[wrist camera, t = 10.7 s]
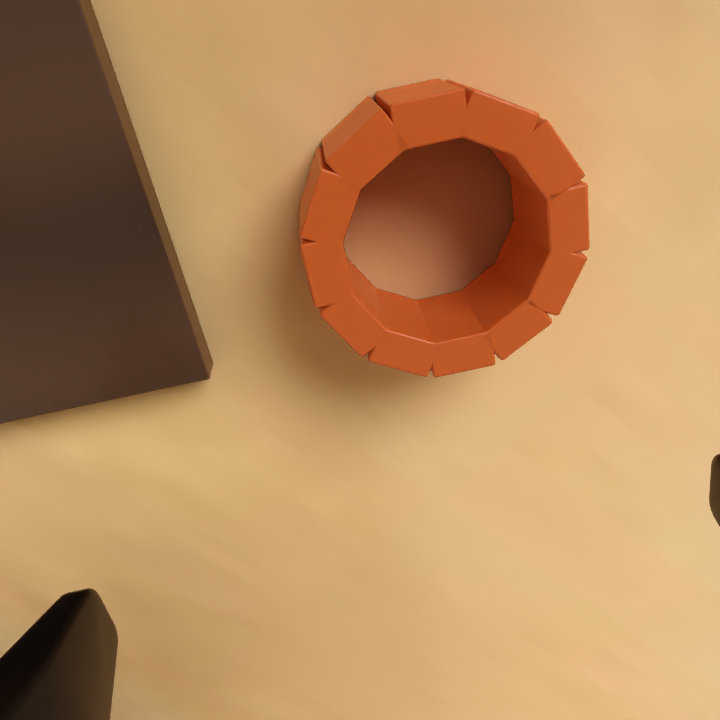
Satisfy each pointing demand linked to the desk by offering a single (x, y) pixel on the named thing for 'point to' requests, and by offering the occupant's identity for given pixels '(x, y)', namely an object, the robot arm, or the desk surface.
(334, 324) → the ring
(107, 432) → the desk surface
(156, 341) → the peg board
